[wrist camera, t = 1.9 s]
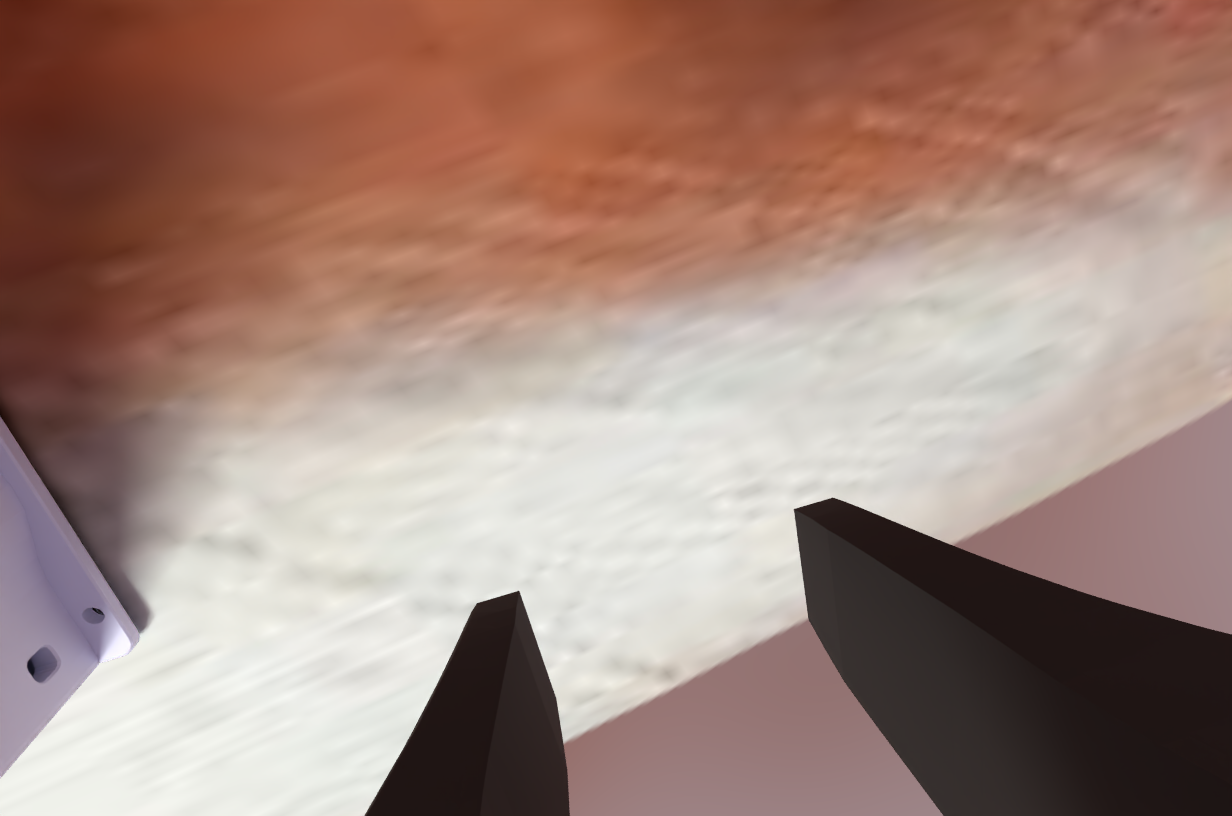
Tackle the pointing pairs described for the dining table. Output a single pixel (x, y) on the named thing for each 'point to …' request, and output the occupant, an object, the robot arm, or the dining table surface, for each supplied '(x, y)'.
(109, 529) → the dining table surface
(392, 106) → the dining table surface
